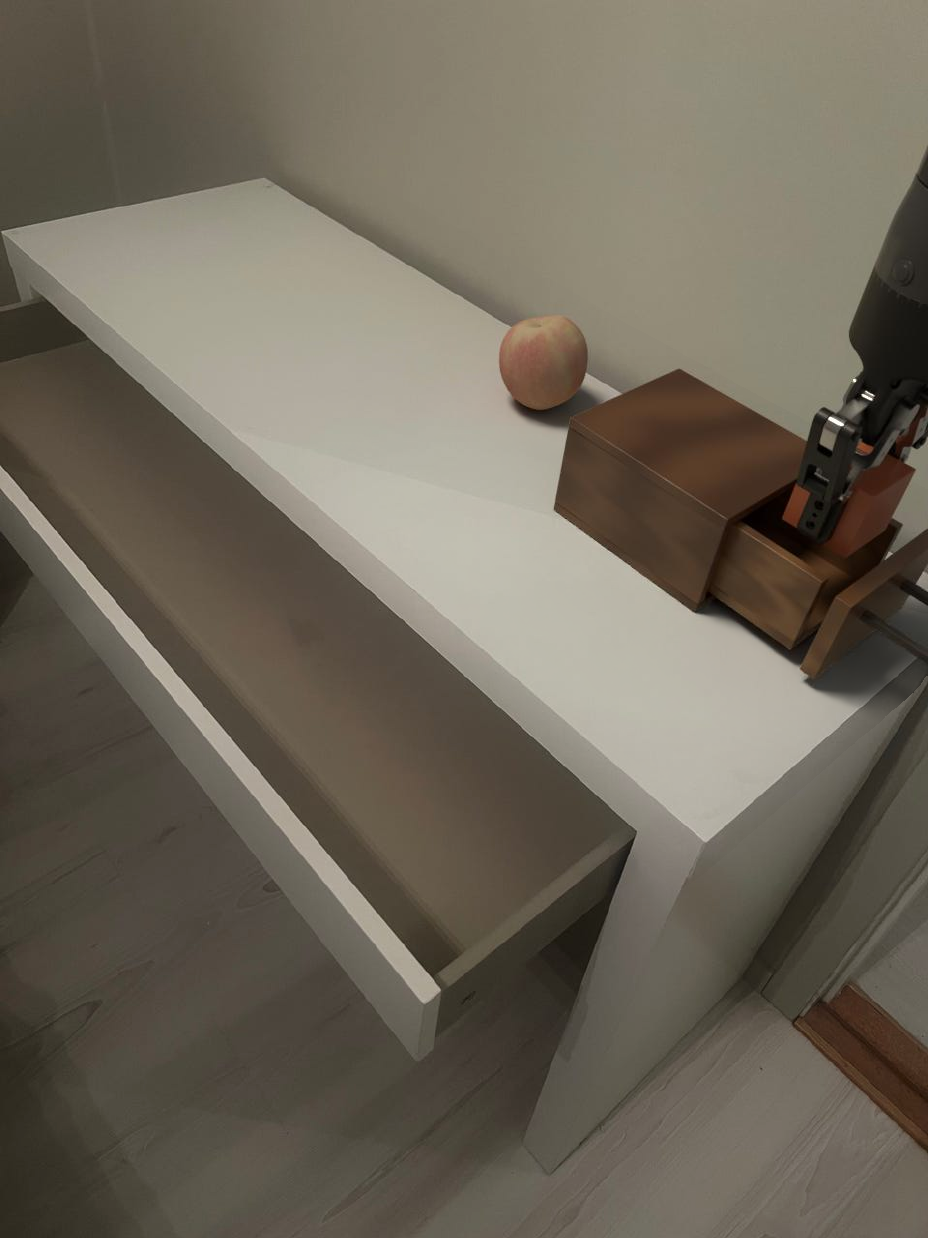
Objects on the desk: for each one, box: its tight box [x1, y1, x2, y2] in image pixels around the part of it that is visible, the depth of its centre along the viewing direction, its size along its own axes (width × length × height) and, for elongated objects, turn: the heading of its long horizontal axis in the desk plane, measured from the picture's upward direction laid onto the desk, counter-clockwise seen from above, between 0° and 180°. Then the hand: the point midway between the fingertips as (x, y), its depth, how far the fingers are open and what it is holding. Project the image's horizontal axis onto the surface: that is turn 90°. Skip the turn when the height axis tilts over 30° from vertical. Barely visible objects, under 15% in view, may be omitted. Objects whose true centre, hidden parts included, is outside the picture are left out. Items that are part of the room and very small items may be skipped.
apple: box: [498, 314, 589, 411], centre depth 83 cm, size 8×8×8 cm
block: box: [782, 442, 917, 558], centre depth 61 cm, size 5×5×5 cm
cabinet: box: [553, 368, 807, 613], centre depth 71 cm, size 15×13×9 cm
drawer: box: [708, 486, 928, 680], centre depth 64 cm, size 20×11×7 cm, turn 41°
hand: (836, 519), depth 62 cm, fingers closed on block, 5 cm apart
